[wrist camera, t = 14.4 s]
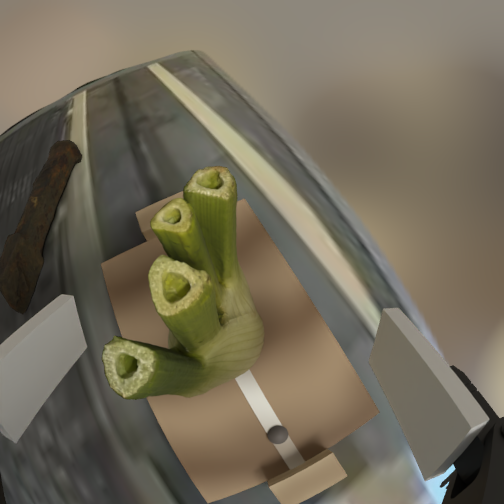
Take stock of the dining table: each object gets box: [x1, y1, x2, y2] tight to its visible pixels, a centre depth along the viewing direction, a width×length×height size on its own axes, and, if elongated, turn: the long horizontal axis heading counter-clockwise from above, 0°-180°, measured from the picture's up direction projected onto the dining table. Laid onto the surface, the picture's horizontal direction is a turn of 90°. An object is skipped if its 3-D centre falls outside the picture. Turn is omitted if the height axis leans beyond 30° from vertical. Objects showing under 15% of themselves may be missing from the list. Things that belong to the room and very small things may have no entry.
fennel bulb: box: [102, 166, 264, 400], centre depth 11 cm, size 6×5×12 cm
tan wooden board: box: [101, 191, 379, 504], centre depth 16 cm, size 22×12×3 cm, turn 28°
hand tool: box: [0, 140, 82, 314], centre depth 21 cm, size 19×4×5 cm, turn 1°
